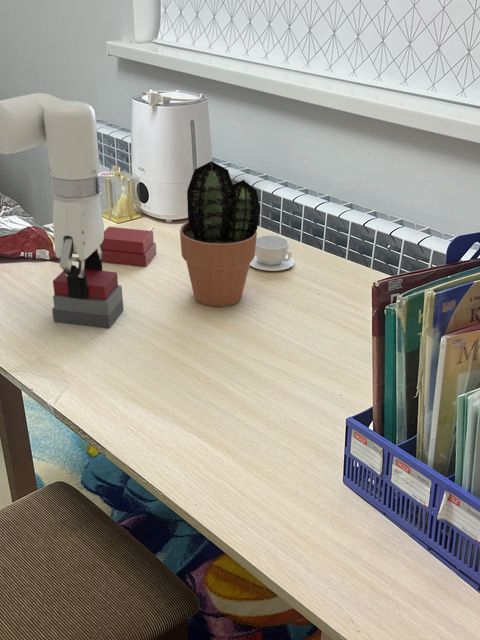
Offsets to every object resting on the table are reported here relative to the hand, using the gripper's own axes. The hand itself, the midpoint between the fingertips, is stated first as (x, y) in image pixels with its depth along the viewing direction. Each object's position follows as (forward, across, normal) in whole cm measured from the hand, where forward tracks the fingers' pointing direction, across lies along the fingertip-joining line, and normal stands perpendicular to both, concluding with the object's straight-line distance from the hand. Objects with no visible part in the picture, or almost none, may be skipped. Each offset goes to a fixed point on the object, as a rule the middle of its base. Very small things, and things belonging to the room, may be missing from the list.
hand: (86, 287), depth 118 cm
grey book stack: (+5, 0, 0) cm, 5 cm away
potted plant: (+6, -13, +20) cm, 24 cm away
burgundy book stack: (+5, -26, -2) cm, 27 cm away
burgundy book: (0, 0, 0) cm, 0 cm away
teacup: (+6, -31, +27) cm, 41 cm away
